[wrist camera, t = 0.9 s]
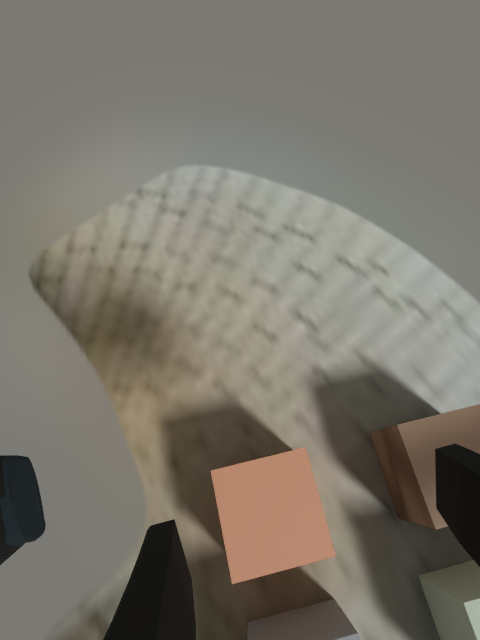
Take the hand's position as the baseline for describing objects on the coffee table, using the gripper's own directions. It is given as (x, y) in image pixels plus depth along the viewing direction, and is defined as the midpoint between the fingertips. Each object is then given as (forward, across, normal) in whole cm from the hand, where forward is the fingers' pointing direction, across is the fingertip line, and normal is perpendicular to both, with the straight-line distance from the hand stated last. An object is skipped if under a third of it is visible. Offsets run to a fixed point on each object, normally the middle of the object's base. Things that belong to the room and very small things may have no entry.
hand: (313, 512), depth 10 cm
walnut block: (+10, -10, +10) cm, 17 cm away
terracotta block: (+11, 0, +10) cm, 15 cm away
